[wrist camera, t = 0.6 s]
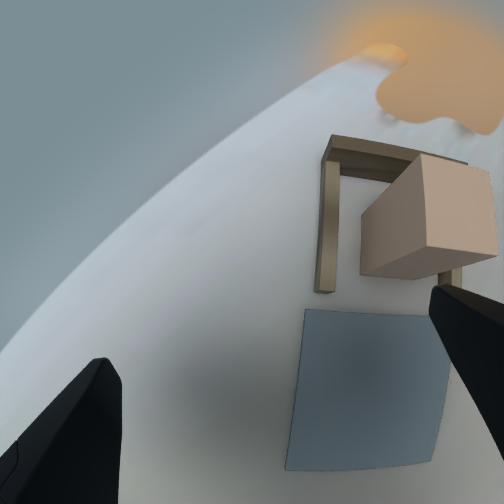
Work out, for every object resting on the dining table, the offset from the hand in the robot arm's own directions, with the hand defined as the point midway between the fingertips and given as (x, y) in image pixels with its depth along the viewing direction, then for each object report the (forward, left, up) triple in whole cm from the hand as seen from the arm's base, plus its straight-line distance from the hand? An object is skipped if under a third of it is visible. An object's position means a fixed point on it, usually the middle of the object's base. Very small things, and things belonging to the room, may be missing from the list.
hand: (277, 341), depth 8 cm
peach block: (-5, -10, -14) cm, 18 cm away
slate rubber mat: (-10, 0, -14) cm, 17 cm away
